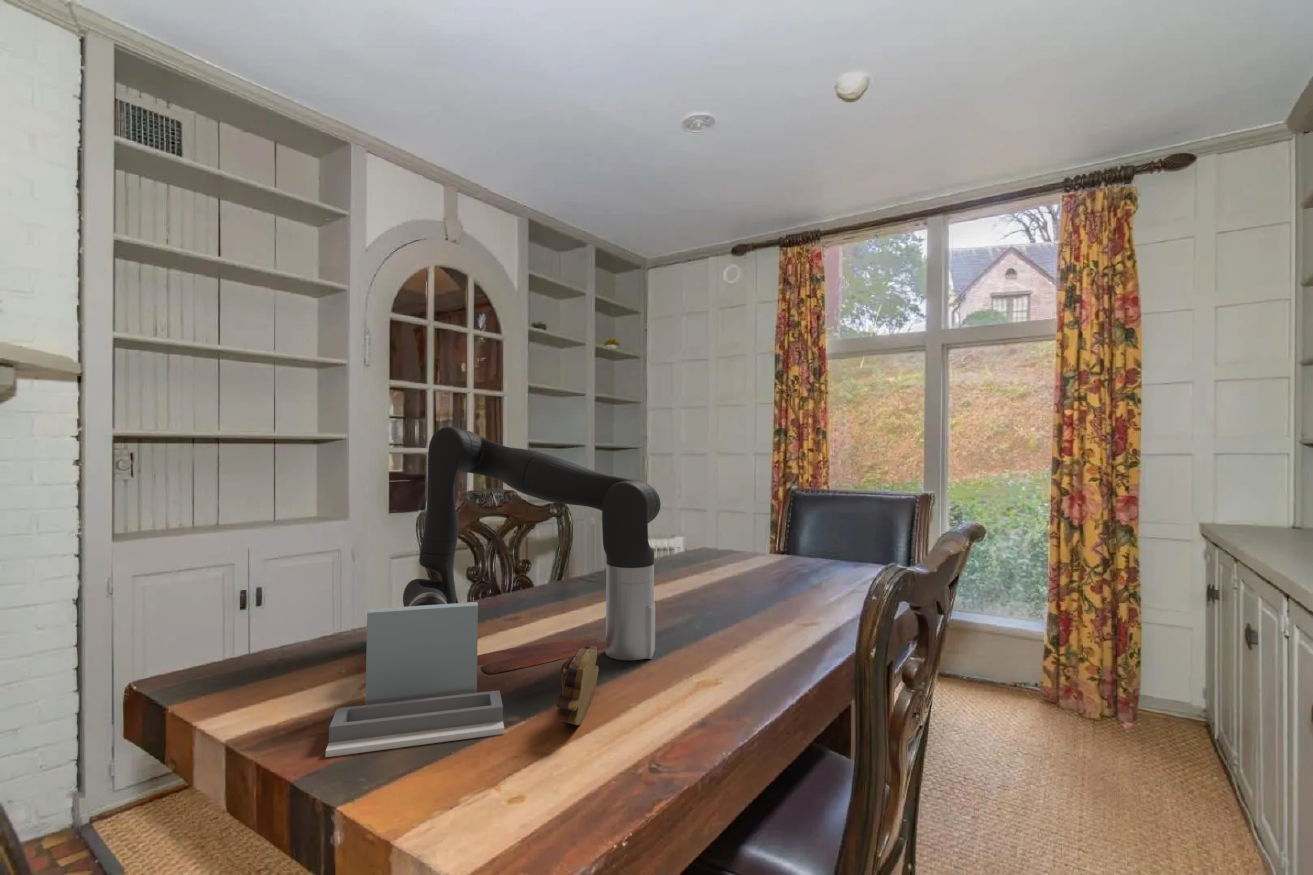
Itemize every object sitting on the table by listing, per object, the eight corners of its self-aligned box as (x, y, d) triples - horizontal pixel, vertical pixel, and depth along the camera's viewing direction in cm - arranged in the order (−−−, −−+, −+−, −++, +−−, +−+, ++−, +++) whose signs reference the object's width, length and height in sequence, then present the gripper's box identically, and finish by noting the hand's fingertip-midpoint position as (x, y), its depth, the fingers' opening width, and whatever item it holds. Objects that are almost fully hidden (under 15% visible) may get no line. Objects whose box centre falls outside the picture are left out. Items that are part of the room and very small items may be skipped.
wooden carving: (571, 696, 100) (571, 632, 100) (599, 696, 99) (600, 633, 100) (550, 744, 83) (551, 668, 83) (584, 744, 83) (585, 668, 83)
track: (497, 703, 96) (498, 684, 97) (504, 733, 86) (504, 713, 86) (339, 721, 89) (339, 701, 90) (325, 757, 79) (325, 734, 79)
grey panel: (474, 680, 106) (475, 594, 107) (476, 698, 98) (478, 605, 99) (371, 691, 101) (373, 600, 101) (364, 711, 93) (366, 613, 94)
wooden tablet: (489, 679, 108) (489, 669, 108) (468, 663, 116) (468, 654, 116) (617, 650, 125) (617, 641, 125) (590, 638, 133) (590, 630, 133)
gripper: (386, 598, 115) (376, 621, 99) (467, 593, 119) (470, 614, 104) (385, 639, 114) (375, 668, 99) (467, 633, 119) (469, 660, 103)
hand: (424, 640), depth 101 cm, fingers open, 8 cm apart
